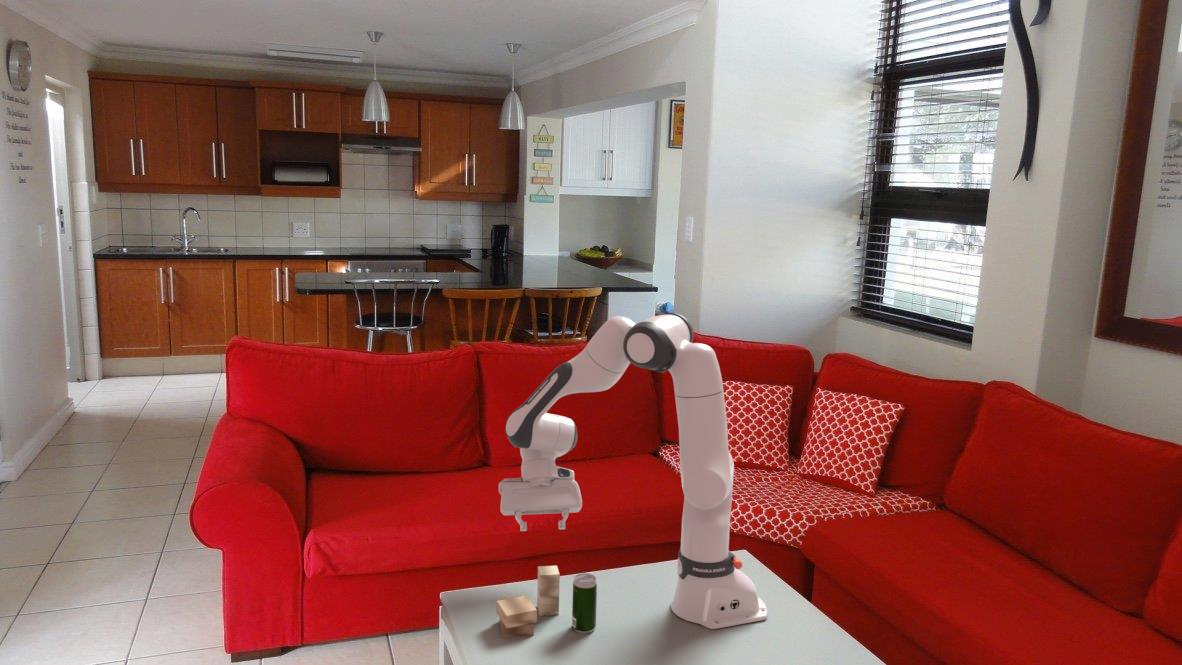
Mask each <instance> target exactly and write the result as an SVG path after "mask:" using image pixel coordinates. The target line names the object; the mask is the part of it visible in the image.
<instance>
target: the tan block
mask: <svg viewBox="0 0 1182 665" xmlns="http://www.w3.org/2000/svg"><path fill="white" fill-rule="evenodd" d="M536 595H537V598H536V599H537V600H536V602H537V603H536V607H537V613H538V615H539V617H541V616H544V615H545V616H557V614H559V615H560V571H559V567H558V565H542V566H541V565H540V566H539V565H538V566H537V594H536Z"/></svg>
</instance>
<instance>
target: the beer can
mask: <svg viewBox="0 0 1182 665" xmlns="http://www.w3.org/2000/svg"><path fill="white" fill-rule="evenodd" d="M597 595H598V581H597V577H596V576H595V575H594V574H593V573H586V572H585V573H583V572H582V573H578V574H576V575H574V577H573V581H572V605H571V606H572V607H571V608H572V609H571V610H572V611H571V627H572V630H575V631H574V632H576V633H577V632H578V634H581V633H582V634H584V635H586V634H585V633H587V634H590V633H593V632H594V630H596V626H597V605H598V604H597V603H598V602H597V599H598V596H597ZM592 631H593V632H592ZM582 634H581V635H582Z"/></svg>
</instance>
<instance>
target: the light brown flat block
mask: <svg viewBox="0 0 1182 665" xmlns="http://www.w3.org/2000/svg"><path fill="white" fill-rule="evenodd" d="M499 626H500V633H501V638H517V637H530V636H534V635H535V623H532V624H527V625H521V626H516V627H511V628H506V627H505V625H504V624H503V622H502V621H501V619H500V618H499Z"/></svg>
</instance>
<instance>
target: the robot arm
mask: <svg viewBox="0 0 1182 665" xmlns="http://www.w3.org/2000/svg"><path fill="white" fill-rule="evenodd" d="M694 335H695V334H694V329H693V325H692V323H691V322H690V320H689V319H688V318H687V317H685V316H684V315H683V314H679V313H676V312H675V313H674V312H666V313H662V314H659V315H654V316H650V317H648V318H646V319H644V320H642V321H639V322H638V323H636V322H635V321H633V320H632V319H630V318H628V317H627V316H623V315H614V316H612V317H610V318H608V319H607V321H605V322H604V323H603V324H602V325H601V327H599V329H598V330H596V332H595V334H594V335H593V336H592V337H591V339H590V340H589V342H588V343H587V344H586V346H585V347H584V348H583V349H582V351H580V352H579V353H578V354H577V355H576V356H574V357H573V358H571V359H570V360H568V361H566V362H563V363H561V364H559V365H558V366H557V367H555V368H554V369H553V370H552V371H551V372H550V373H549V374H548V375H547V377H546V378H545V379H544V380H543V381H542V382H541V383H540V384H539V386H538V387H537V388H536V389H535V390H534V391H533V392H532V394H531V395H529V397H528V398H527V399H526V400H525V401H524V402H523V403H522V404H521V405H519V406H518V407H516V408H515V409H514V410H513V411H512V412H511V413H510V415H509V416H508V418H507V420H506V423H505V428H504V429H505V430H504V431H505V435H506V437H507V439H508V442H510V444H511V445H512V446H513V447H514V448H517V449H519V451H520V457H521V459H522V460H521V464H520V465H521V466H520V470H521V477H517V478H516V477H514V478H508V477H507V478H504V479H503V480H501V481H500V482H498V494H500V496H501V497H500V498H501V499H500V512H501V514H502V515H503V516H515V520H516V522H517V523H518V525H520V526H519V527H520V532H527V530H528V526H527V524H528V522H527V521H524V520H523V519H522V515H545V514H546V515H547V514H561V515H562V520H558V523H557V524H558V530H566V521H567V519H568V517H569V514H570V513H571V514H573V513H579V512H580V511H581V510H582V507H583V499H582V494H581V489H580V486H579V484H578V482H577V481H576V480H575V471H574V470H572V469H570V468H569V469H568V468H565V467H563V466H562V467H561V466H558V465H556V459H557V458H560V457H563V456H564V455H567V453H569V452H571V451H572V450H573V449H574V448H575V447H576V446H577V443H578V436H579V435H578V428H577V425H576V423H575V421H574V420H573V419H572V418H569V417H567V416H563V415H560V414H559V415H558V414H553V413H549V412H548V411H549V410H550V409H551V407H552V406H554V404H555V403H557V401H558V400H559V399H561V398H563V397H565V396H569V395H572V394H580V393H597V392H599V393H601V392H603V391H606V390H609V389H611V388H612V387H614V386H615V384H617V383H618V381H620V379H621V378H622V376H623V375H624V374H625V372H626V370H627V369H628V367H629V366H630V364H633V365H634V366H635V367H637V368H640V369H644V370H651V371H655V372H657V373H663V374H664V373H666V372H669V373H670V375H671V377H672V382H673V391H674V399H675V408H676V415H677V416H676V417H677V424H678V444H679V445H678V446H679V448H678V449H679V463H680V464H679V465H680V478H681V487H682V492H683V495H684V499H683V500H684V501H683V509H682V517H681V533H680V534H681V535H680V536H681V537H680V548H679V550H678V558H677V565H676V568H677V575H678V576H677V583H676V588H675V590H674V591H675V592H674V596H673V598H672V601H671V603H670V609H671V611H672V612H673V614H675V615H676V616H678V618H681V619H683V620H685V621H687V622H691V623H695V624H698V625H701V626H703V627H705V628H707V629H709V630H717V629H721V628H722V629H723V628H726V627H727V628H728V627H732V626H733V627H734V626H737V625H738V626H739V625H743V624H749V623H755V622H759V621H760V622H761V621H765V620H767V618H768V608H767V606H766V604H765V602H764V601H763V599H762V598H761V597H760V596H759V595H758V594H759V593H758V590H757V588H756V585H755V584H754V582H753V581H752V580H751V578H750V577H749V576H747V574H745V573H744V572H742V571H741V569H742V568H743V561H741V559H740V558H738V557H737V556H736V554H734V553H733V552H731V551H730V550H729V548H730V546H729V545H730V530H731V528H730V526H731V517H732V516H731V512H732V503H733V502H732V498H733V488H734V474H735V472H734V471H735V464H734V463H735V462H734V458H733V456H732V454H731V452H730V450H729V436H728V419H727V411H726V410H727V408H726V401H725V393H724V385H723V378H722V372H721V367H720V364H719V361H718V358H717V355H716V352H715V350H714V349H713V348H712V347H711V346H709V345H708V344H705V343H702V342H701V343H699V342H694V341H693V340H694Z"/></svg>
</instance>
